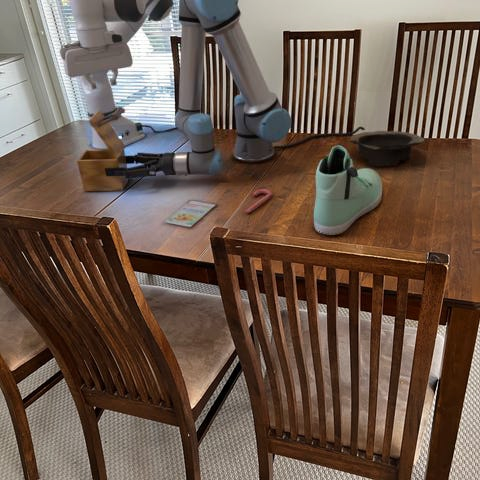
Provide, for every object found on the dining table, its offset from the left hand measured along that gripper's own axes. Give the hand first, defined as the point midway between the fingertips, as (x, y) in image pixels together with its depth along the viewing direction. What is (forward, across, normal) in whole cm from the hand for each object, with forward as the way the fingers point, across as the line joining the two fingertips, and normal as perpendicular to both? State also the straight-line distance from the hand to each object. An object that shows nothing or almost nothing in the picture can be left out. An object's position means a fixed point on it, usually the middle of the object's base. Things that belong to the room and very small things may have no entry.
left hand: (103, 86), depth 147 cm
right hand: (+26, -3, +2) cm, 26 cm away
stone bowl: (+33, +81, -41) cm, 97 cm away
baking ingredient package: (+33, +8, -34) cm, 48 cm away
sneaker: (+33, +46, -61) cm, 83 cm away
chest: (+33, -5, +4) cm, 33 cm away
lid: (+15, -2, +1) cm, 15 cm away
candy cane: (+33, +27, -41) cm, 59 cm away
